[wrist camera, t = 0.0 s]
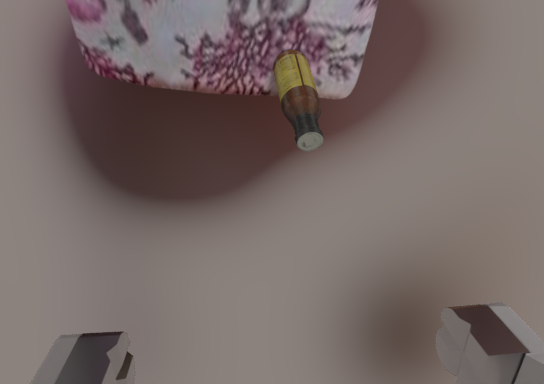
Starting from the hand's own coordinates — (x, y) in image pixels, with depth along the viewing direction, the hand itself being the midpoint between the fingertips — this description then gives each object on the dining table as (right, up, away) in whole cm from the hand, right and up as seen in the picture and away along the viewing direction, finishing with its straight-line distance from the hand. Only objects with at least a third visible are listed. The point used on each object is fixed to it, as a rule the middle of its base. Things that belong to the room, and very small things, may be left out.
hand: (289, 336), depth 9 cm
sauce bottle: (+3, +27, +56) cm, 62 cm away
